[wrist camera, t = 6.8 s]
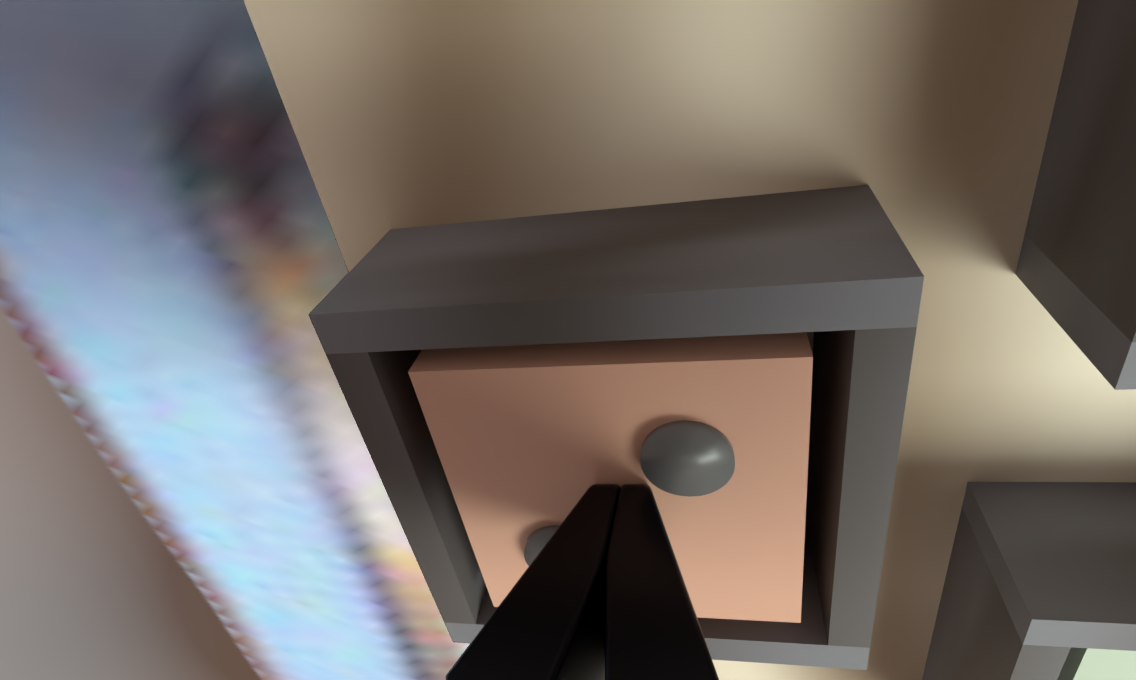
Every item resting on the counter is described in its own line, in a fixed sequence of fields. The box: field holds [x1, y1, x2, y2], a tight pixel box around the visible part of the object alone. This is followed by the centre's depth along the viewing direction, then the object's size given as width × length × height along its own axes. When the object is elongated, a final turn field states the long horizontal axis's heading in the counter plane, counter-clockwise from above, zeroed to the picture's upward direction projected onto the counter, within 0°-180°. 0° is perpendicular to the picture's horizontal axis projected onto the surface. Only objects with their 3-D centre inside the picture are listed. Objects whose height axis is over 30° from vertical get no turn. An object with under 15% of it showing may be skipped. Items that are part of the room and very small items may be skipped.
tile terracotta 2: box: [408, 332, 813, 623], centre depth 10 cm, size 5×5×2 cm
